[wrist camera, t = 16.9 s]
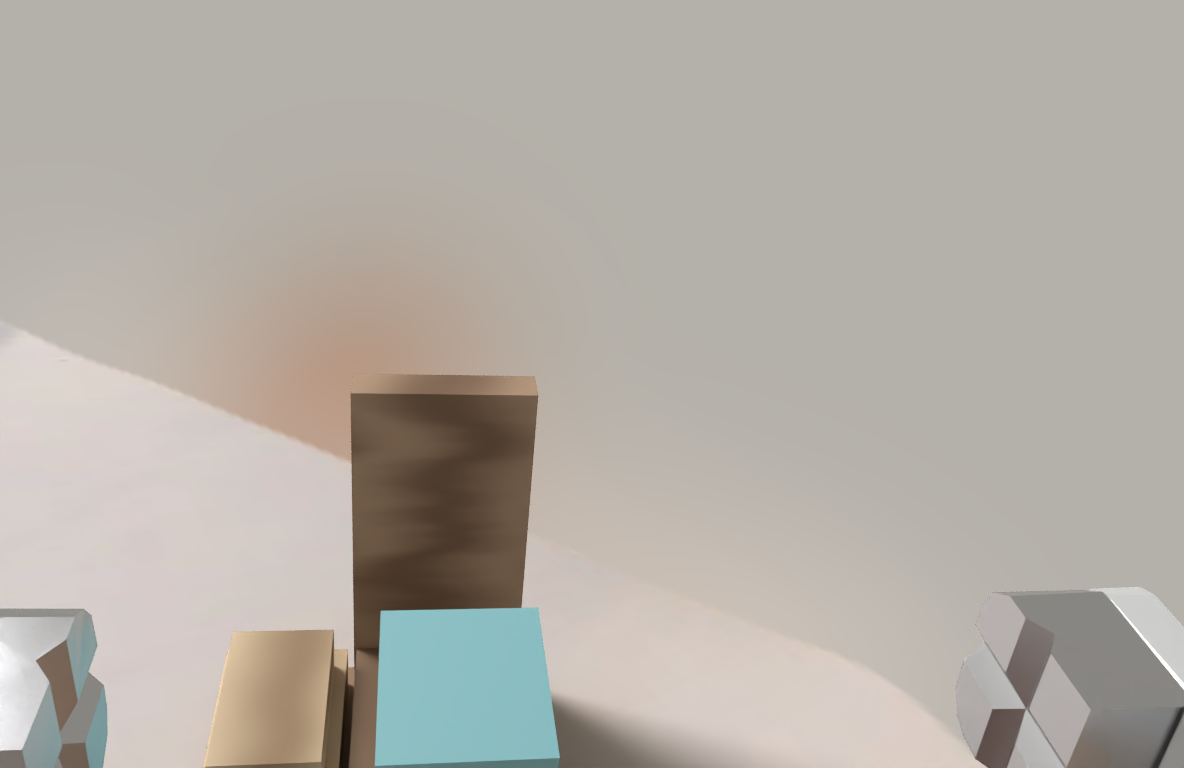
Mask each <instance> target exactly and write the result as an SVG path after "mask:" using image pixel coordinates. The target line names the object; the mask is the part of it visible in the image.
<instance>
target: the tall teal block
mask: <svg viewBox="0 0 1184 768" xmlns="http://www.w3.org/2000/svg"><path fill="white" fill-rule="evenodd" d="M559 762H560V755H559V748H558V741H557V735H556V728H555V721H554V714H553V707H552V700H551V693H550V687H549V680H548V673H547V666H546V659H545V652H544V645H543V638H542V632H541V625H540V618H539V611H538V608H492V609H444V610H395V611H381V616H380V643H379V669H378V696H377V722H376V749H375V768H559Z"/></svg>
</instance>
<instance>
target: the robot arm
mask: <svg viewBox="0 0 1184 768" xmlns="http://www.w3.org/2000/svg"><path fill="white" fill-rule="evenodd" d="M975 625H976V627H977V629H978V631H979V633H980V635H981V636H982V638H983V640H984V643H983V644H981V645H980V646H979V647H978V648H977V649H976V650H975V651H974V652H973V653H971V654H970V655H969V656H968V657H967V658H966V659H965V660H964V661H963V664H962V667H961V671H960V675H959V679H958V682H957V685H956V698H957V716H958V720H959V723H960V726H961V730H962V733H963V736H964V738H965V740H966V742H967V744H968V746H969V748H970V750H971V752H972V754H973V755H974V757H975V759H977V760H978V761H979V762H981V763H982V764H984V765H985V766H986V767H988V768H1184V627H1183V626H1182V625H1181V624H1180V623H1179V622H1178V620H1177V619H1176V618H1175V617H1174V616H1173V615H1172V614H1171V613H1170V611H1169V610H1168V609H1167V608H1166V607H1165V606H1164V605H1163V604H1162V602H1161V601H1160V600H1159V599H1158V598H1157V597H1156V596H1155V595H1154V594H1152V593H1150V592H1148V591H1146V590H1145V589H1143V588H1141V587H1125V588H1101V589H1100V588H1098V589H1090V590H1088V591H1087V590H1070V591H1030V592H994V593H992V595H990V596H989V598H988V599H987V600H986V601H985V602H984V603H983V605H982V607H981V610H980V613H979V616H978V619H977V622H976V624H975ZM96 648H97V641H96V636H95V631H94V626H93V621H92V616H91V615H90V614H89V613H88V612H87V611H85V610H84V609H0V768H103V763H104V755H105V748H106V741H107V704H106V697H105V690H104V685H103V684H102V683H101V682H99V681H98V680H97V679H96V678H95V677H94V676H92V675H91V674H90V673H89V672H88V671H89V668H90V665H91V663H92V660H93V657H94V654H95V651H96Z"/></svg>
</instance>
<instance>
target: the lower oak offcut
mask: <svg viewBox="0 0 1184 768" xmlns="http://www.w3.org/2000/svg"><path fill="white" fill-rule="evenodd" d="M228 654H229V652H227V655H226V660H225V665H224V669H223V674H222V679H221V684H220V689H219V693H218V698H217V703H216V708H215V712H214V717H213V722H212V727H211V732H210V736H209V741H208V746H207V751H206V755H205V760H204V765H203V768H205V765H206V760H207V755H208V750H209V746H210V741H211V736H212V731H213V726H214V721H215V717H216V712H217V707H218V702H219V697H220V692H221V688H222V683H223V678H224V673H225V668H226V664H227V659H228ZM347 696H348V649H338V650H334V676H333V688H332V699H331V710H330V721H329V733H328V744H327V755H326V766H325V768H342V765H343V751H344V737H345V724H346V710H347Z"/></svg>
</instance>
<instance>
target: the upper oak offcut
mask: <svg viewBox="0 0 1184 768" xmlns="http://www.w3.org/2000/svg"><path fill="white" fill-rule="evenodd" d="M333 676H334V630H298V631H252V632H233V635H232V639H231V644H230V649H229V654H228V659H227V664H226V668H225V673H224V678H223V683H222V688H221V692H220V697H219V702H218V707H217V712H216V717H215V721H214V726H213V731H212V736H211V741H210V746H209V750H208V755H207V760H206V765H205V768H325V766H326V755H327V744H328V733H329V721H330V710H331V699H332V688H333Z"/></svg>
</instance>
